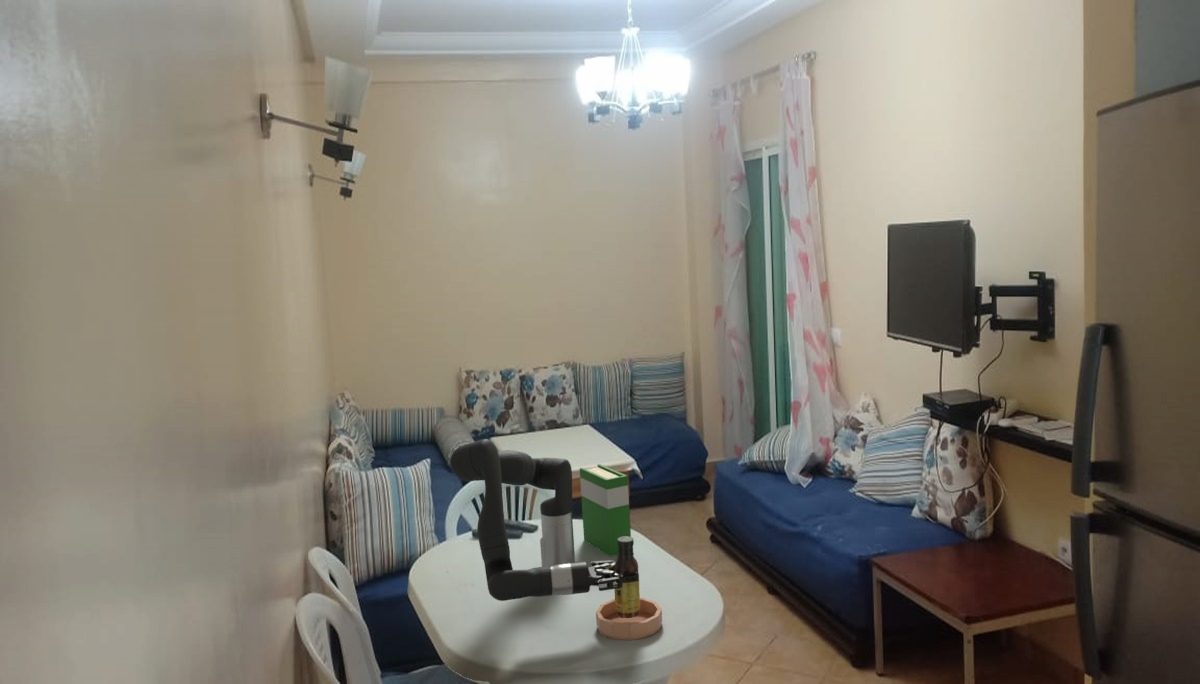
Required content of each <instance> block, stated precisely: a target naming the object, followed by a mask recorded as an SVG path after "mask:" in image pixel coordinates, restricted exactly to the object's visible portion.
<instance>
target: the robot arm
mask: <svg viewBox="0 0 1200 684" xmlns="http://www.w3.org/2000/svg"><path fill="white" fill-rule="evenodd" d="M449 460H450V461H449V464H450V467H451V470H452V473H453V474H454V475H455V476H456V478H458V479H459V480H461V481H464V482H475V481H480V482H481V481H484V485H485V486H484V488H485V489H484V490H485V491H484V499H483V504H482V506H481V509H480V513H479V516H478V517H479V518H478V520H477V529H476V530H477V531H476V532H477V538H478V543H479V550H480V552H481V553H480V554H481V556H482V560H483V563H484V570H485V577H486V584H487V585H486V586H487V591H488V593H489V594H490V596H491V597H492V598H493V599H495V600H496V601H500V602H503V601H505V602H506V601H511V600H512V601H513V600H517V599H524V598H529V597H531V598H534V597H535V598H536V597H537V598H538V597H540V598H541V597H550V596H568V595H569V596H570V595H577V594H585V593H589V592H590V591H591V587H592V586H594V587H598V591H599V592H603V591H609V590H614V589H616V588H622V587H623V584H624V583H628V582H637V581H639V582H640V574H638V573H639V571H638V572H631V573H623V574H622V573H615V572H614V567H615V564H616V561H615V560H612V559H611V560H610V559H609V560H594V561H593V560H592V561H591V562H590V566H589V564H588V563H587V561H578V562H577V561H576V555H575V553H576V551H575V539H574V524H573V510H572V509H573V507H572V505H573V471H572V470H573V469H572V466H571V463H570V461H569V460H568V459H565V458H559V457H558V458H555V457H538V458H532V456H530V455H529V453H526V452H523V451H518V450H513V449H512V450H509V449H508V450H498V448H497V447H496V445H495V443H494V442H493V441H491V440H490V439H488V438H483V439H480V440H477V441H473V442H470V443H467V444H462V445H461V446H459V447H457V448H456V449H455V450H453V452H452V454H451V455H450V459H449ZM502 484H505V485H510V486H511V485H512V486H525V485H530V486H533V487H534V488H537V489H541V490H550V491H551V490H552V491H554V497H550V498H547V499H545V500H544V501H541V503H540V506H539V507H540V508H539V509H540V521H541V522H540V523H541V536H542V537H541V538H540V539H539V543H540V544H539V545H540V557H541V566H540V567H539V566H538V567H537V566H536V567H532V568H529V569H528V568H527V569H513V564H512V561H511V550H510V544H509V539H508V534H507V533H508V532H507V529H506V523H505V517H504V505H503V485H502ZM614 584H617V585H614Z"/></svg>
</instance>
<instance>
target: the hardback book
mask: <svg viewBox="0 0 1200 684" xmlns="http://www.w3.org/2000/svg"><path fill="white" fill-rule="evenodd" d="M579 477H580V478H579V481H580V493H581V494H580V495H581V508H582V509H581V512H582V527H583V528H582V529H583V530H582V531H583V541H584V540H585V541H584V542H586V541H587V542H588V543H587V542H586V543H587V544H589V543H590V545H591V546H592V545H593V546H592V547H594V548H596V549H597V548H598V549H597V550H599V549H600V550H599V551H601V552H602V553H604V554H606V555H607V556H609V557H614V556H618V544H617V540H618V538H620V537H623V536H629V537H632V534H631V515H630V514H631V513H630V500H629V499H630V498H629V495H630V494H629V479H628V475H626V474H624V473H622V472H620V471H618V470H615V469H612V468H610V467H608V466H605V465H604V464H601V463H598V464H597V467H593V468H587V469H586V468H585V467H579Z"/></svg>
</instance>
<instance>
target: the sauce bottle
mask: <svg viewBox="0 0 1200 684" xmlns="http://www.w3.org/2000/svg"><path fill="white" fill-rule="evenodd" d="M634 540H635V539H634V537H632V536H631V537H629V536H623V537H620V538H618V540H617V544H618V555H617V558H616V560H615V562H616V564H615V567H614V572H615V573H622V574H623V573H631V572H638V574H639V563H638V561H637V559H636V558H635V556H634V555H635V554H634V543H635V541H634ZM639 575H640V574H639ZM614 585H617V584H614ZM613 590H614V599H615V609H616V614H617V615H618V616H620V617H621V618H633V617H636V616H638V614H639V611H640V610H639V609H640V598H641V597H640V580H639V581H637V582H628V583H624V584H623V587H622V588H616V589H613Z"/></svg>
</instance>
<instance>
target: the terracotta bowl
mask: <svg viewBox="0 0 1200 684" xmlns="http://www.w3.org/2000/svg"><path fill="white" fill-rule="evenodd" d="M639 610H640V611H639V614H638V616H636V617H633V618H621V617H620V616H618V615H617V614H616V609H615V598H614V599H610V600H609V601H606V602H604V603H602V604H600V605H599V607H598V608H597V610H596V611H595V619H596V620H595V621H596V626H597V630H598V633H600V635H602V636H604V637H606V638H609V639H612V640H618V641H636V640H642V639H645V638H649V637H651V636H653V635H655V634H657V633H658V632H659V631H660V629H661V627H662V622H663V608H662V607H661V606H660V605H659V604H658V602H657V601H654V600H652V599H648V598H646V597H640V609H639Z"/></svg>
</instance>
